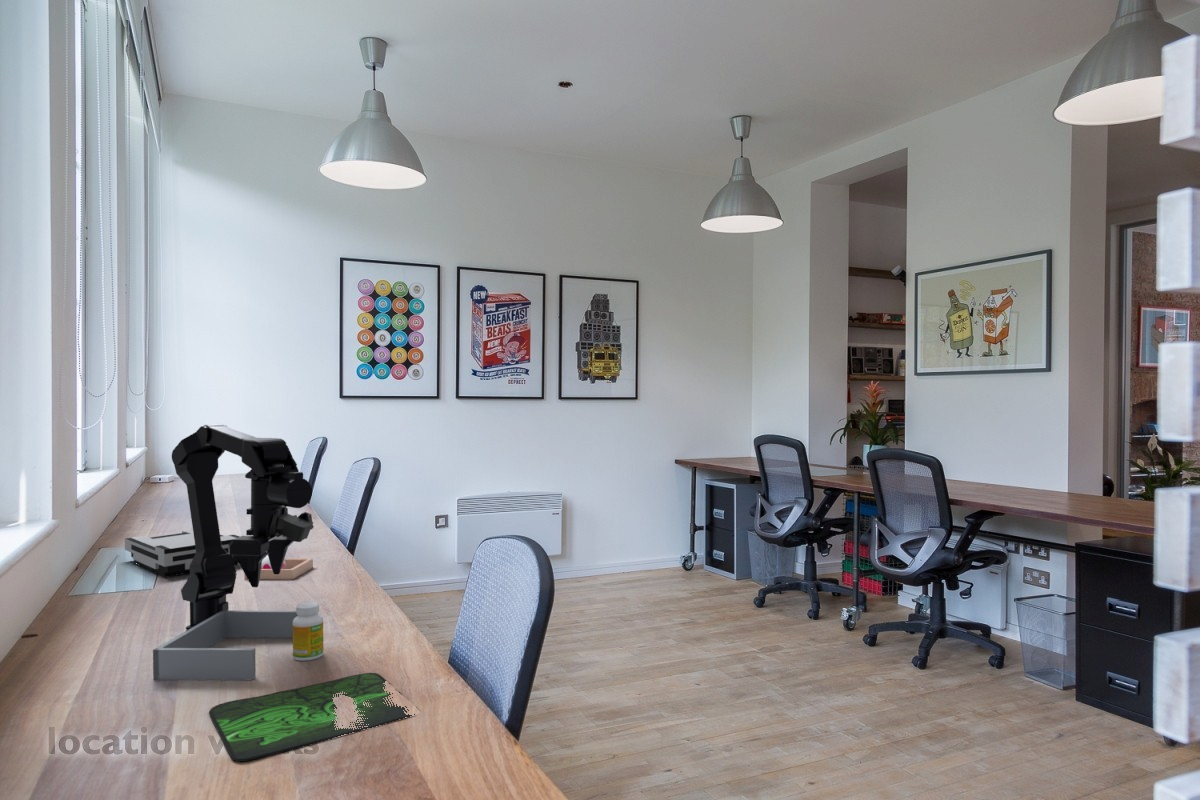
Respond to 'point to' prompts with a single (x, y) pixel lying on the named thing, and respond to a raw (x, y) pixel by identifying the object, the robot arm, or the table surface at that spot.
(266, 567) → the stress ball
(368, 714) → the mouse mat
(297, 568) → the ball dish
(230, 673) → the open side box
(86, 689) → the table surface
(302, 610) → the supplement bottle
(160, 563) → the game console
